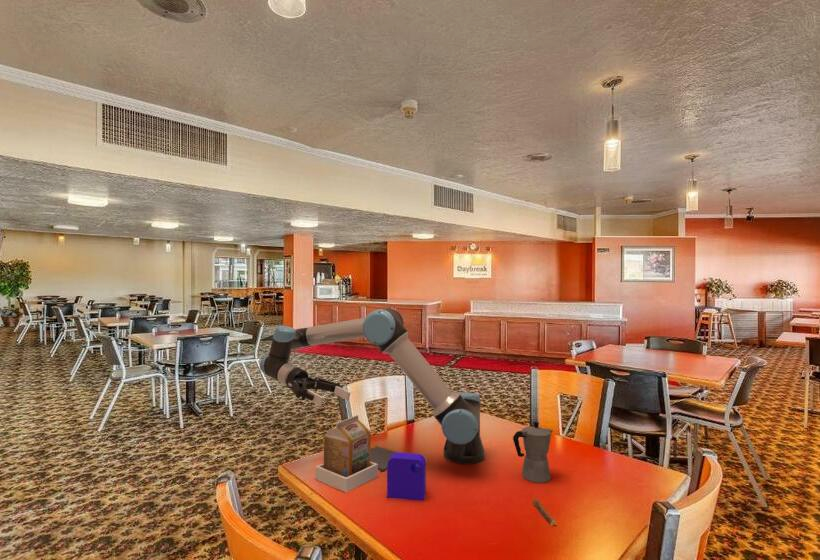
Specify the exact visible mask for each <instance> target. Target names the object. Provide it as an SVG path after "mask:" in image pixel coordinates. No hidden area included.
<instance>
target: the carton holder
mask: <svg viewBox="0 0 820 560" xmlns="http://www.w3.org/2000/svg"><path fill="white" fill-rule="evenodd" d="M314 473H315V474H314V475H315V477H314V479H315V480H316V481H319V482H320V483H323V484H326V485H327V486H330V487H331V488H335V489H336V490H339V491H341V492H343V493H348V492H350V491H352V490H354V489H356V488H358V487H359V486H362V485H363V484H366V483H368V482H370V481H372V480H374V479H376V478H377V477H378V476H379V470H378V464H376V463H373V462H371V461H370V467H368V468H365V469H363V470H361V471H359V472H357V473H355V474H353V475H350V476H348V477H344V476H341V475H339V474H336V473H334V472H331V471H329V470H327V469H324V462H323V463H321V464H319V465H316V466H315V472H314Z"/></svg>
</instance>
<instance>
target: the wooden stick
mask: <svg viewBox="0 0 820 560" xmlns="http://www.w3.org/2000/svg"><path fill="white" fill-rule="evenodd" d="M531 503H532V505H533V507H534V508H535V509H536V510H537V512H538V513H539V514H540V516H541V517H542V519H543V520H544V519H545V520H546V521H545V520H544V521H545V522H546V523H547V522H548V523H549V525H557V522H556V521H555V519H554V517H552V514H550V512H549V511H547V509H546V508H545V507H544V505H543V504H542V503H541V502H540V500H538V498H537V497H536V496H535V497H534V499H533V500H532V502H531ZM548 523H547V524H548ZM549 525H548V526H549ZM557 526H558V525H557Z"/></svg>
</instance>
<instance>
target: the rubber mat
mask: <svg viewBox="0 0 820 560" xmlns="http://www.w3.org/2000/svg"><path fill="white" fill-rule="evenodd" d="M393 453H396V451H393V450H390V449H387V448H384V447H381V446H378V445H376V446H374V447H370V461H371V462H373V463H376V464H378V471H380V472H385V471H387V464H388V461H389V459H390V457H391V456H392V454H393Z"/></svg>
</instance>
